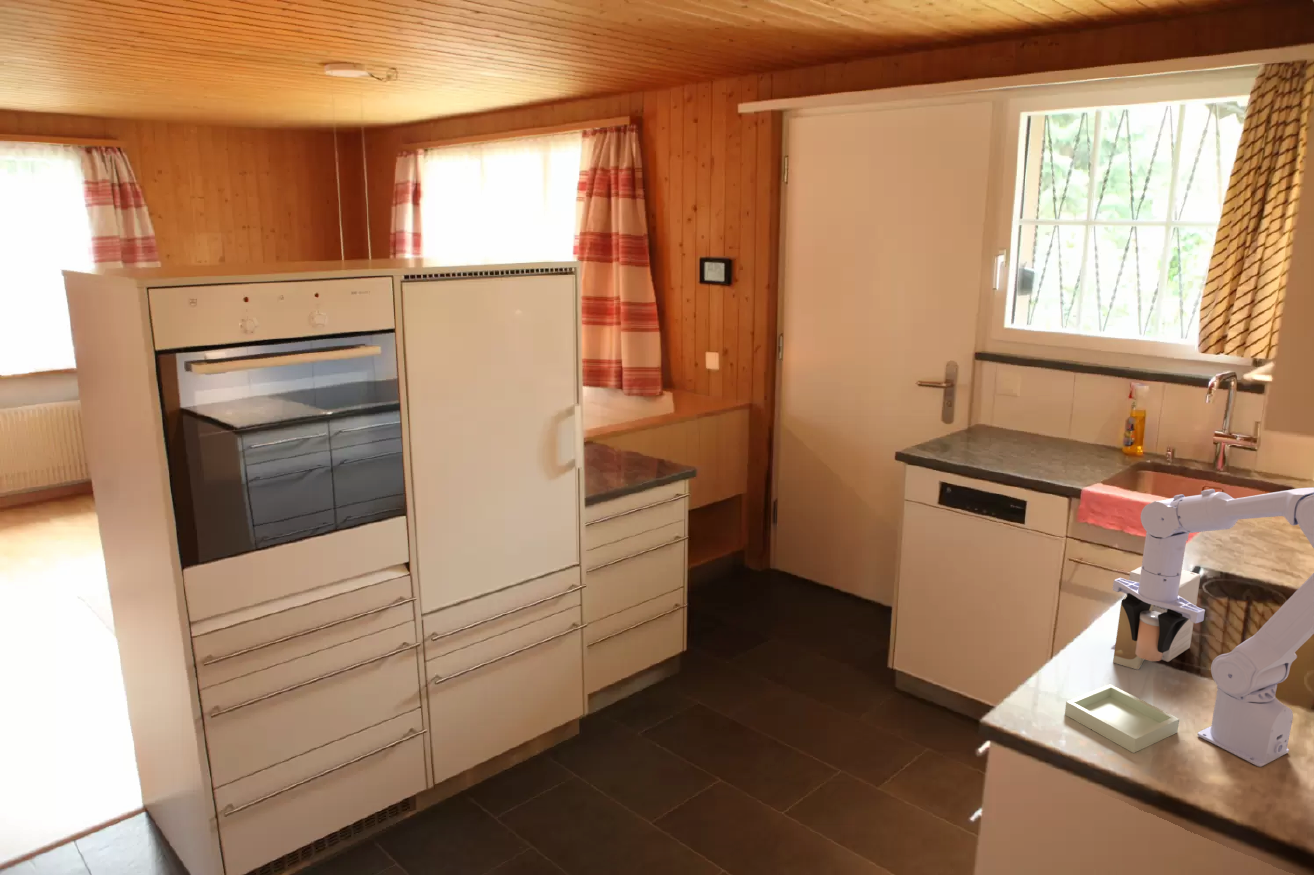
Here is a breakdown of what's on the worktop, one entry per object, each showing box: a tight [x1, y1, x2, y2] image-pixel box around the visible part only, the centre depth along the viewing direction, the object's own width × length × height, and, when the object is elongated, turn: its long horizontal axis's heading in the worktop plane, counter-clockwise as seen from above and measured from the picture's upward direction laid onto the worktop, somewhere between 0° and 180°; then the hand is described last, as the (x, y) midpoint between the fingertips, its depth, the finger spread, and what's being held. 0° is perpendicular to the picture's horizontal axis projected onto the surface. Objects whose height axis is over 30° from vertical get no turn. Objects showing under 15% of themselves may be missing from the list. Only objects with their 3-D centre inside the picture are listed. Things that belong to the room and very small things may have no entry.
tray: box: [1064, 683, 1180, 754], centre depth 142 cm, size 12×11×2 cm
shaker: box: [1135, 611, 1163, 662], centre depth 149 cm, size 4×4×7 cm
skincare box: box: [1112, 594, 1153, 671], centre depth 160 cm, size 6×4×12 cm
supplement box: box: [1128, 565, 1202, 663], centre depth 165 cm, size 9×9×15 cm
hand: (1150, 644), depth 149 cm, fingers closed on shaker, 4 cm apart
